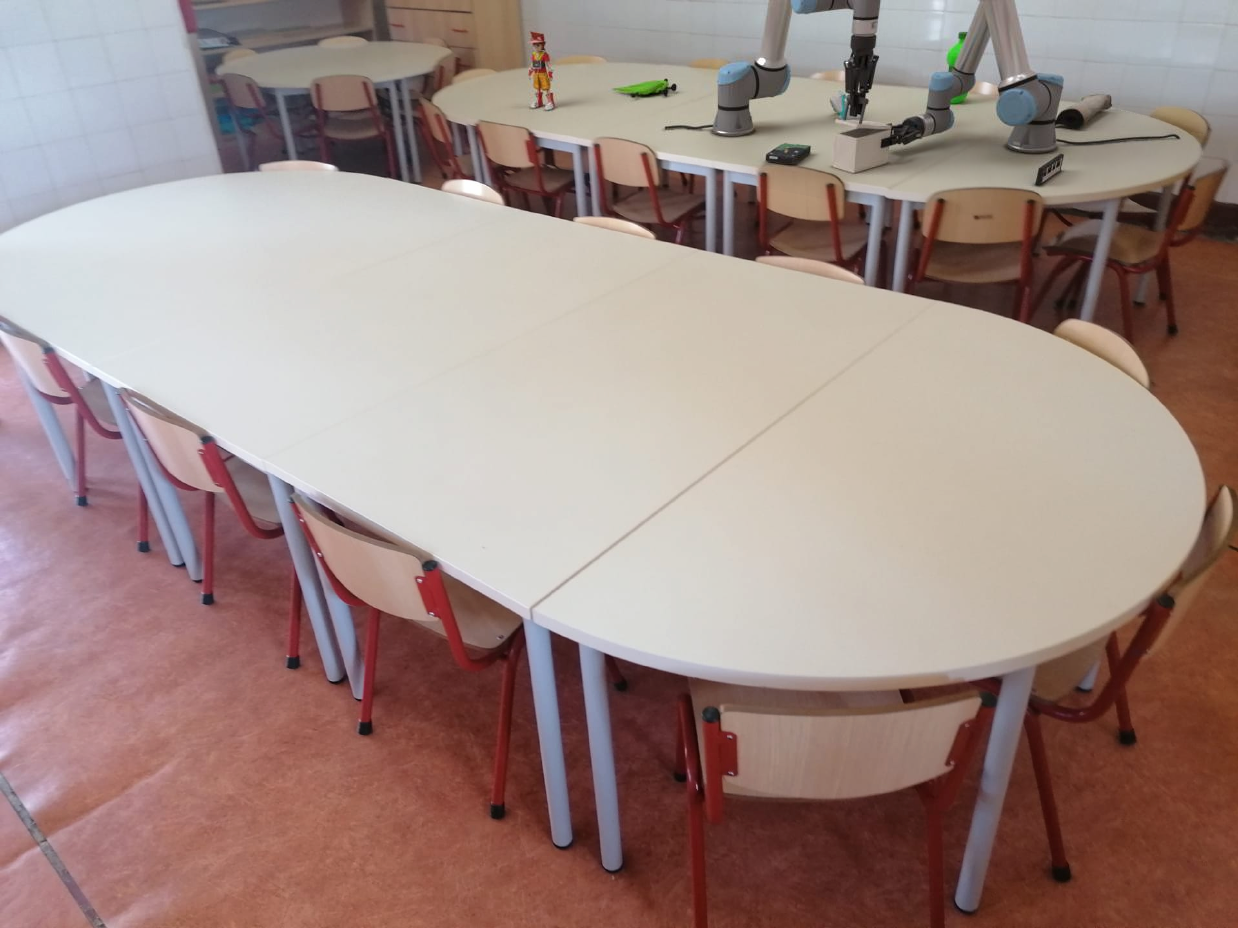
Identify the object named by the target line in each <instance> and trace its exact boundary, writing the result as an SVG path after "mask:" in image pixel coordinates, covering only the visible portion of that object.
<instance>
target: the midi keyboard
mask: <svg viewBox="0 0 1238 928" xmlns="http://www.w3.org/2000/svg"><path fill="white" fill-rule="evenodd" d="M1064 157H1065V153H1059V154H1058V155H1056V156H1055V157H1052V159H1051V160H1049V161H1047V162H1045V164H1042V165H1041V166H1039V167H1038V169H1037V175H1036V179H1035V186H1040V185H1042V183H1044V182H1045V181H1047V180H1048V179H1049V178H1051V177H1052V176H1054V175H1055V174H1056V173H1058V172H1060V171H1061V170H1062V165H1063V161H1064Z"/></svg>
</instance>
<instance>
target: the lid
mask: <svg viewBox="0 0 1238 928" xmlns="http://www.w3.org/2000/svg"><path fill="white" fill-rule="evenodd" d="M845 101H847V104H846V108H845V113H844V117H843V119H842V118H840V119H838V118H836V119H835V121H834V123H836V124H839V125H843V126H849V127H852V128H871V129H891V127H892V126H888V125H886V124H883V123H881V122H880V123H879V122H875V121H871V120H864V116H865V112H866V108H867V105H869V103H870V99H869V98H862V97H859V104H863V108H862V112H861V115H859V116H860V119H852V120H846V117H847V113H848V108H850V105H849V102H850V94H847V95H846V98H845Z"/></svg>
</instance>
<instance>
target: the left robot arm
mask: <svg viewBox="0 0 1238 928" xmlns="http://www.w3.org/2000/svg"><path fill="white" fill-rule="evenodd" d="M881 2H882V1H881V0H768V3H767V10H766V16H765V21H764V28H763V34H762V40H761V45H760V50H759V51H760V52H759V53H757V55H756V56H755V57H754V63H753V64H751V63H750V62H749V61H739V62H738V61H734V62H730V63H727V64H724V65H723V66H721V67H720V68H719V70H718V75H717V111H716V114H715V118H714V120H713V123H712V124H707V125H705V124H704V125H700V126H691V125H686V124H685V125H683V124H679V125H678V124H677V125H667V126H664V130H669V129H688V130H701V129H709V128H712V133H713V134H715V135H717V136H721V137H741V136H746V135H750V134H752V133H754V122H753V116H752V115H751V111H750V101H751V100H758V99H766V98H774V97H778V96H782V95H783V94H784V93H786V91H787V90H788V87H789V86H790V84H791V77H792V73H791V67H790V64H789V63H788V60H787V58H786V57H785V51H786V46H787V41H788V36H789V29H790V24H791V20H792V15H793V12H794V14H796V15H810V14H815V13H816V14H817V13H823V12H830V11H831V12H832V11H838V10H839V11H840V10H851V11H852V12H853V13H852V21H851V22H852V23H851V34H852V35H851V36H850V44H849V46H850V47H849V48H850V49H851V53H850V56H849V58H848V59H847V60H844V61H843V66H844V80H845V81H844V92H845V94H847V95H850V102H849V108H850V112H849V116H853V117H857V115H859V116H861V112H862V108H863V104H859V97H862V98H866V97H867V94H869V93H870V91H871V90H872V88H873V83H874V79H875V74H876V69H877V65H878V62H879V60H880V56H879V55H877V54H874V49H876V46H877V37H878V36H877V33H878V27H879V26H878V25H879V18H880V17H879V16H880V9H881Z"/></svg>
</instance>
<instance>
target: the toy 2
mask: <svg viewBox="0 0 1238 928" xmlns="http://www.w3.org/2000/svg"><path fill="white" fill-rule="evenodd" d="M669 85H670V83H669V79H668V78H664V79H663V80H649V81H644V82H640V83H634V84H629V85H627V86H621V87H613V88H612V89H613V90H616V91H619V92H623V93H627V94H628V93H629V94H631V95H630V96H631V98H632V99H634V98H636V96H637V95H650V94H652V93H654V94H658V93H662V95H663V96H665V97H667V96H668V95H669V90H671V91H672V92H676V91H677V84H676V83H672V84H671V86H669Z"/></svg>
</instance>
